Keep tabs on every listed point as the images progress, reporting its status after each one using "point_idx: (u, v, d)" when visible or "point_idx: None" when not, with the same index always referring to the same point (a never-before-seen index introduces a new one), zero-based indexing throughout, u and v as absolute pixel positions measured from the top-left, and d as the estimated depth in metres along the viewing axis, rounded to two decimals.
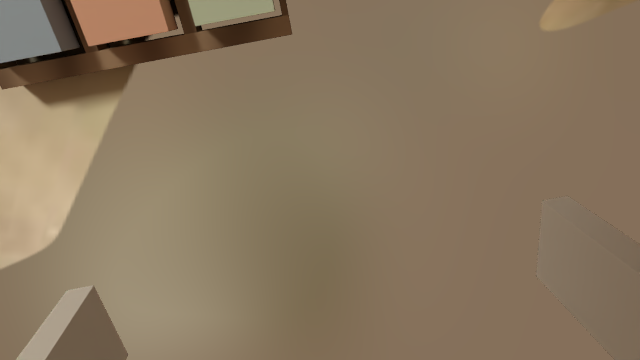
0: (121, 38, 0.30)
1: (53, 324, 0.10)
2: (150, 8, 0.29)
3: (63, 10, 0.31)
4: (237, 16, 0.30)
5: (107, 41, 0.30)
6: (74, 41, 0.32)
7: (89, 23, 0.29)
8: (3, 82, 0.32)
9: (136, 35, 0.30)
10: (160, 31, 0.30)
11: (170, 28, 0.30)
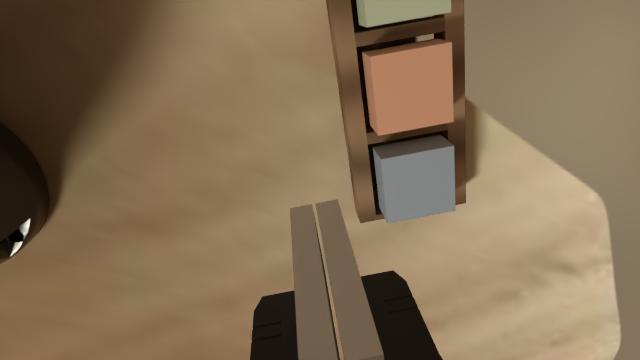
0: (451, 90, 0.30)
1: (301, 227, 0.12)
2: (429, 56, 0.29)
3: (409, 141, 0.35)
4: None
5: (452, 103, 0.31)
6: (436, 137, 0.34)
7: (434, 116, 0.31)
8: (460, 201, 0.37)
9: (451, 75, 0.30)
10: (450, 50, 0.29)
11: (445, 41, 0.29)
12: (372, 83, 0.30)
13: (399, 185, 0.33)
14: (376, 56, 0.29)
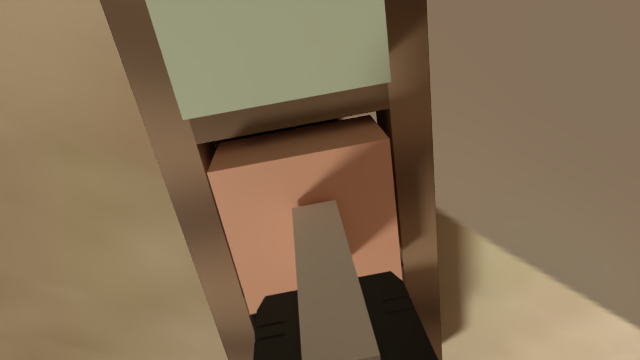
0: (394, 229, 0.14)
1: (304, 227, 0.12)
2: (341, 169, 0.13)
3: None
4: None
5: (397, 253, 0.15)
6: None
7: None
8: None
9: (392, 202, 0.14)
10: (388, 155, 0.13)
11: (379, 132, 0.14)
12: None
13: None
14: (222, 172, 0.13)
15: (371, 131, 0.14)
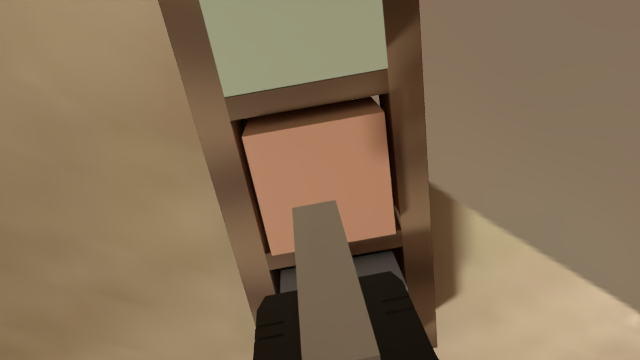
0: (389, 187, 0.18)
1: (303, 227, 0.12)
2: (346, 135, 0.17)
3: None
4: None
5: (391, 207, 0.18)
6: (384, 257, 0.21)
7: (363, 227, 0.19)
8: None
9: (386, 164, 0.18)
10: (383, 125, 0.17)
11: (376, 108, 0.17)
12: None
13: None
14: (253, 136, 0.17)
15: (370, 107, 0.18)
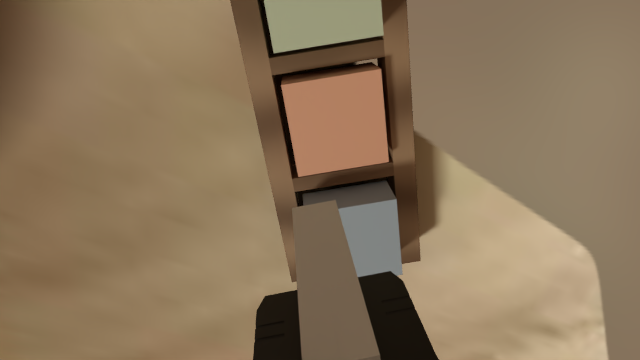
0: (384, 125, 0.25)
1: (303, 227, 0.12)
2: (353, 86, 0.24)
3: (347, 188, 0.28)
4: None
5: (385, 141, 0.26)
6: (380, 184, 0.28)
7: (365, 156, 0.26)
8: (414, 258, 0.31)
9: (382, 108, 0.25)
10: (380, 79, 0.24)
11: (376, 67, 0.24)
12: (287, 116, 0.25)
13: None
14: (289, 85, 0.24)
15: (371, 67, 0.25)
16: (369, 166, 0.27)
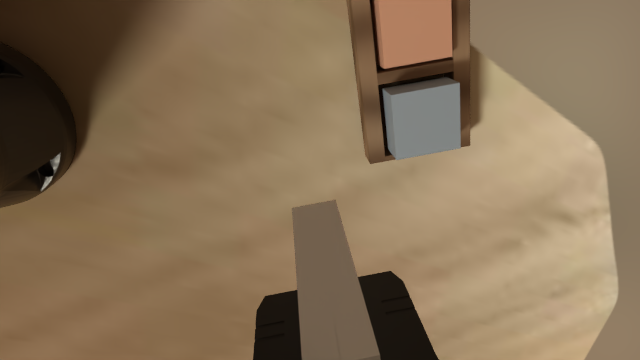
0: (450, 26, 0.34)
1: (303, 227, 0.12)
2: None
3: (417, 82, 0.37)
4: None
5: (451, 39, 0.34)
6: (443, 78, 0.36)
7: (435, 51, 0.34)
8: (465, 143, 0.39)
9: (450, 11, 0.33)
10: None
11: None
12: (379, 18, 0.33)
13: (407, 122, 0.35)
14: None
15: None
16: (435, 63, 0.36)
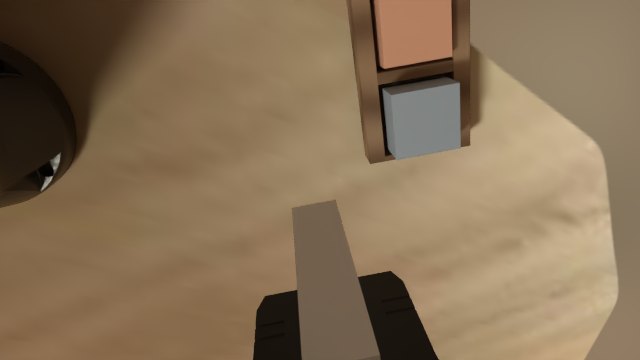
0: (450, 26, 0.34)
1: (303, 227, 0.12)
2: None
3: (417, 82, 0.37)
4: None
5: (451, 39, 0.34)
6: (443, 78, 0.36)
7: (435, 51, 0.34)
8: (465, 143, 0.39)
9: (450, 11, 0.33)
10: None
11: None
12: (379, 18, 0.33)
13: (407, 122, 0.35)
14: None
15: None
16: (435, 63, 0.36)
